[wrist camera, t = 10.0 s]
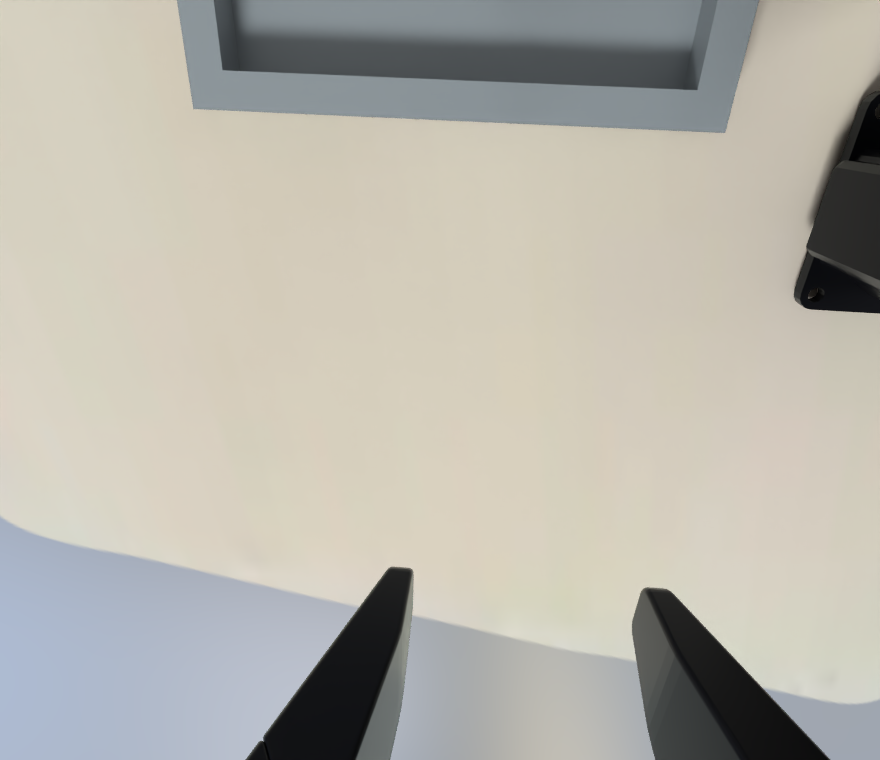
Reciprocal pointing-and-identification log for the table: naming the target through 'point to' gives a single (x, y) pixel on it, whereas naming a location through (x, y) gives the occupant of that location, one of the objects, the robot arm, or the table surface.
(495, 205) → the table surface
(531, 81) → the serving tray
